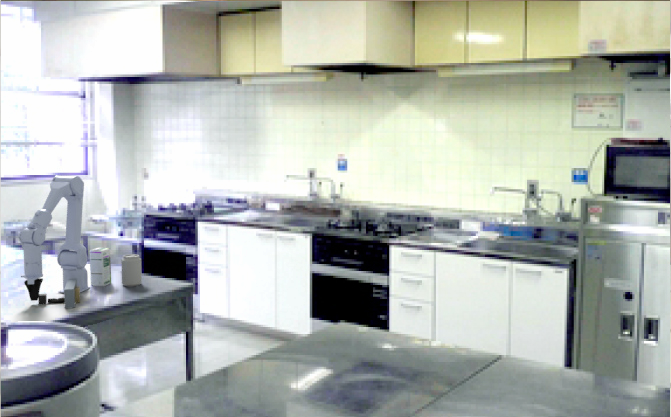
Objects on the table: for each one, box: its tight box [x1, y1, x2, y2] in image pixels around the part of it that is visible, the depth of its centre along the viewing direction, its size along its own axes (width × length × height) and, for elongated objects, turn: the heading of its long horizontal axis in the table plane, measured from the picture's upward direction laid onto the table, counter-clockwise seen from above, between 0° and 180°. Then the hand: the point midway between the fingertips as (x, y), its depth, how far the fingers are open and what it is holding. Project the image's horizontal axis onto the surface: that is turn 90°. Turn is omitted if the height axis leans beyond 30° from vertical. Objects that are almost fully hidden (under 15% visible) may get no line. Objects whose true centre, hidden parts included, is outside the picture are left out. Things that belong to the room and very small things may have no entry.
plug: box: [37, 286, 81, 305], centre depth 236 cm, size 14×4×5 cm, turn 108°
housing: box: [63, 279, 77, 309], centre depth 237 cm, size 3×17×7 cm, turn 18°
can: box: [121, 253, 143, 288], centre depth 264 cm, size 8×8×12 cm
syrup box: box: [89, 247, 112, 287], centre depth 264 cm, size 6×6×14 cm
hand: (34, 300), depth 234 cm, fingers closed, pressing on plug
